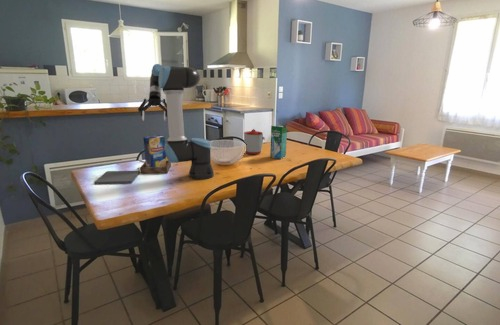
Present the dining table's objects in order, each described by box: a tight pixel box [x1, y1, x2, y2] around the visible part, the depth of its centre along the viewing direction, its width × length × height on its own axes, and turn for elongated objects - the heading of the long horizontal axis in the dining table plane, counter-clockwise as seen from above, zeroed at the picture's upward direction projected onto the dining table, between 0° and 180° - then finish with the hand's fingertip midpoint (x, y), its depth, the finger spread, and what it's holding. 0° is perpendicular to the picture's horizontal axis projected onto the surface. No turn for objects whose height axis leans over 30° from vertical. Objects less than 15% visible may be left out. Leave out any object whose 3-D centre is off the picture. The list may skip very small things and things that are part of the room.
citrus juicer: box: [243, 128, 266, 155], centre depth 240 cm, size 16×17×20 cm
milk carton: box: [269, 125, 288, 160], centre depth 227 cm, size 9×9×25 cm
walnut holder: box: [139, 160, 172, 175], centre depth 194 cm, size 16×16×4 cm
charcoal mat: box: [93, 170, 141, 185], centre depth 177 cm, size 20×20×2 cm
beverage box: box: [143, 134, 167, 167], centre depth 192 cm, size 7×11×22 cm, turn 138°
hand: (153, 120), depth 194 cm, fingers open, 13 cm apart
